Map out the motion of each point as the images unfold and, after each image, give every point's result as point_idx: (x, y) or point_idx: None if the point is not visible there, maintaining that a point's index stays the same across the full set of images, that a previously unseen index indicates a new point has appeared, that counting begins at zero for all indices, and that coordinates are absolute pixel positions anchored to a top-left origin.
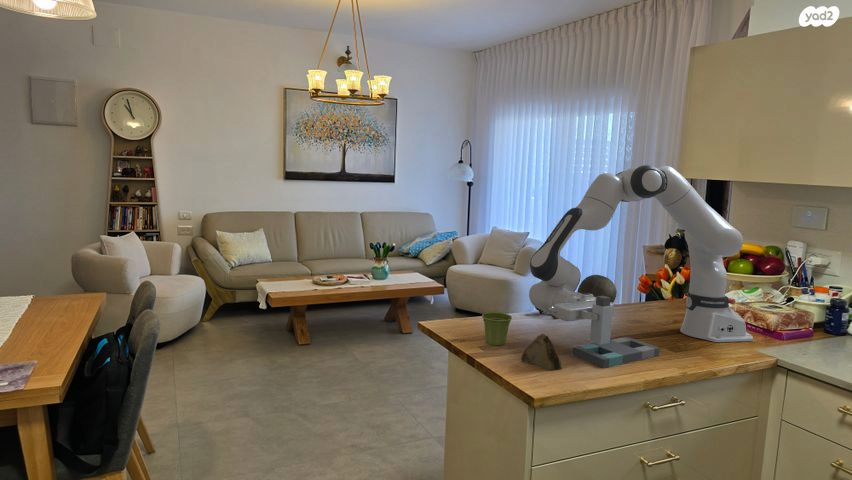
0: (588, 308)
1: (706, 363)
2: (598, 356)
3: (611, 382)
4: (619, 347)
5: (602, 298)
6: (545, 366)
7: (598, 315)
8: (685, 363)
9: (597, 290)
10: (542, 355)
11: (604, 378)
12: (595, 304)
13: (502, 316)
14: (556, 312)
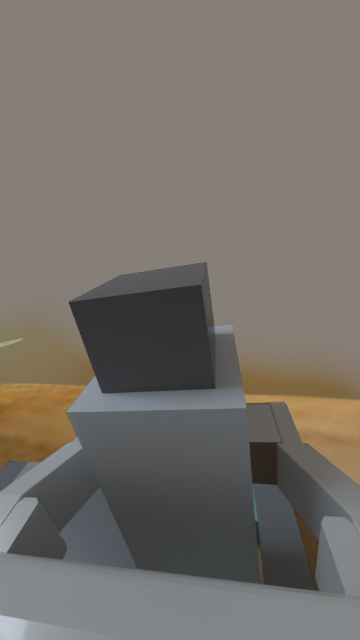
0: (247, 582)
1: (35, 401)
2: (284, 509)
3: (323, 408)
4: (84, 552)
5: (205, 268)
6: None
7: (253, 404)
8: (58, 415)
9: None
10: None
11: (331, 430)
12: (219, 389)
13: None
14: None
